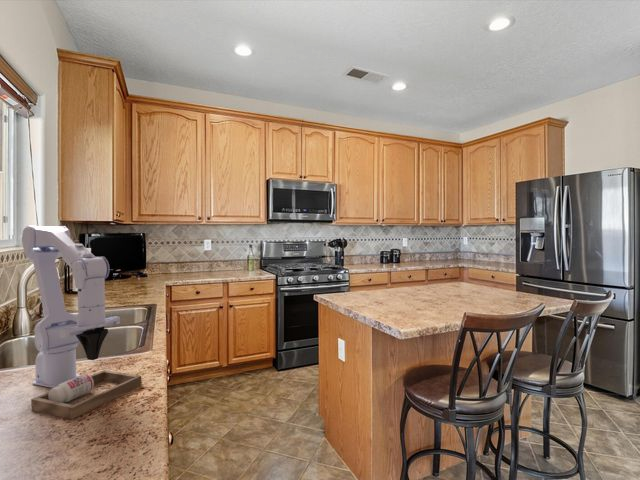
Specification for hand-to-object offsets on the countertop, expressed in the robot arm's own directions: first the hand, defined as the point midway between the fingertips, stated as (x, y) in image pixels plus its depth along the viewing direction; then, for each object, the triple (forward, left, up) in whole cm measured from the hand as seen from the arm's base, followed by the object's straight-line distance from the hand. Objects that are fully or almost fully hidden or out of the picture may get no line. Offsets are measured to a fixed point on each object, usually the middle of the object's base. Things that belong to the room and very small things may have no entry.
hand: (92, 359), depth 89 cm
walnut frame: (0, -1, -9) cm, 9 cm away
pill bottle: (-3, +1, -7) cm, 7 cm away
